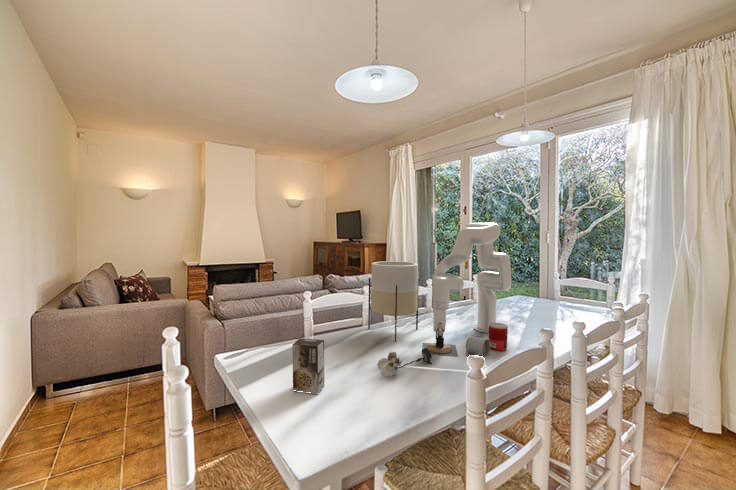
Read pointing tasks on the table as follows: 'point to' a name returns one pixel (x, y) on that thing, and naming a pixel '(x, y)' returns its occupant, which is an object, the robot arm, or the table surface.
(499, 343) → the canned food
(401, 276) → the planter
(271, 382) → the table surface
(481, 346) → the ceramic mug
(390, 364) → the artificial flower
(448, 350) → the lid
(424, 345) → the mat
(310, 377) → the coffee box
